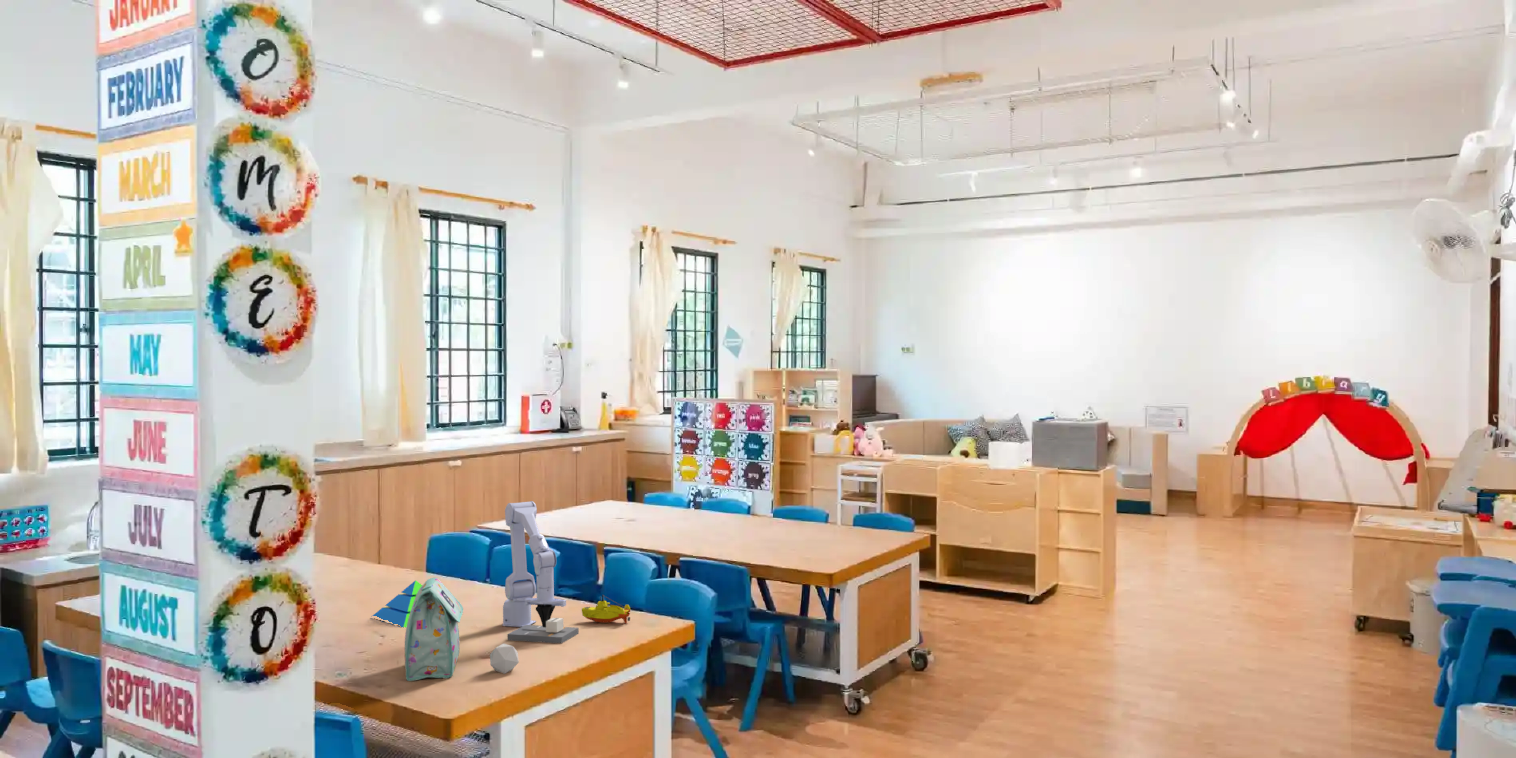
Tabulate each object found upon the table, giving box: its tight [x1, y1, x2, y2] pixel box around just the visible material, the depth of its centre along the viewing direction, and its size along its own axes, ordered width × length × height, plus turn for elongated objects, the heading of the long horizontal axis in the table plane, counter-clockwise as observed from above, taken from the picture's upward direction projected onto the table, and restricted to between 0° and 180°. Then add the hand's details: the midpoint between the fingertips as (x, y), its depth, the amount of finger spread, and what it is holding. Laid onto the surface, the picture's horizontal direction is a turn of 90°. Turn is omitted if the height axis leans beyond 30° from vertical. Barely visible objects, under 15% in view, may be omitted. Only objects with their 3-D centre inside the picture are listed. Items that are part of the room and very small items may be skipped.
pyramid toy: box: [372, 580, 423, 628], centre depth 370 cm, size 25×25×14 cm
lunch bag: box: [404, 577, 464, 682], centre depth 301 cm, size 23×16×27 cm
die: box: [489, 642, 520, 675], centre depth 299 cm, size 8×9×10 cm
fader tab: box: [546, 617, 564, 633], centre depth 337 cm, size 4×5×4 cm
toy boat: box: [581, 594, 631, 624], centre depth 357 cm, size 6×18×10 cm, turn 78°
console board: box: [506, 624, 580, 644], centre depth 338 cm, size 20×13×2 cm, turn 75°
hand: (545, 626), depth 338 cm, fingers closed
